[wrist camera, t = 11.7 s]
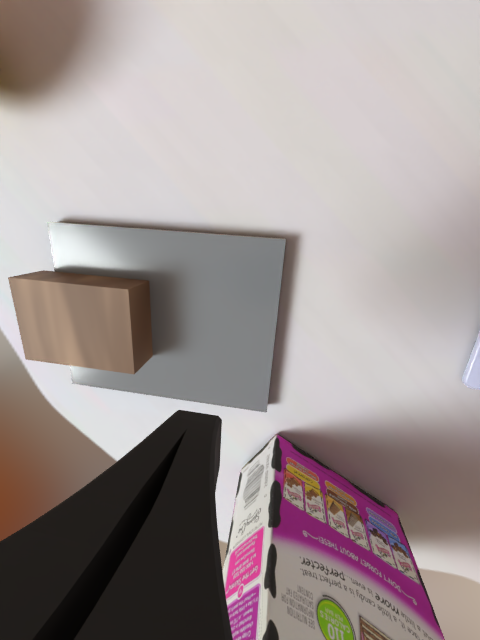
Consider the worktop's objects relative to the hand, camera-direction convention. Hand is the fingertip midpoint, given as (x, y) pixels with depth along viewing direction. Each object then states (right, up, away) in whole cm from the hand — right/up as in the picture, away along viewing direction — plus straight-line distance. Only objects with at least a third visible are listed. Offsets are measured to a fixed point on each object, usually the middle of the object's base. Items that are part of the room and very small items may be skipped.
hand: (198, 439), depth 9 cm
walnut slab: (-4, +3, +8) cm, 10 cm away
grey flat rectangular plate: (-3, +4, +10) cm, 11 cm away
